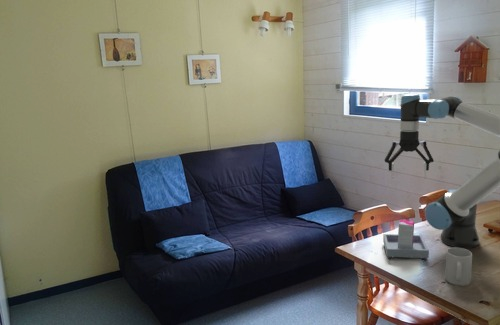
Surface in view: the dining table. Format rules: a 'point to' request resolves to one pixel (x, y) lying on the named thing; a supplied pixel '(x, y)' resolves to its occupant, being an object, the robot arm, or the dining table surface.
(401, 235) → the supplement box
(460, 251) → the mug
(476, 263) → the dining table surface
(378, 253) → the dining table surface
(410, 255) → the grey tray
